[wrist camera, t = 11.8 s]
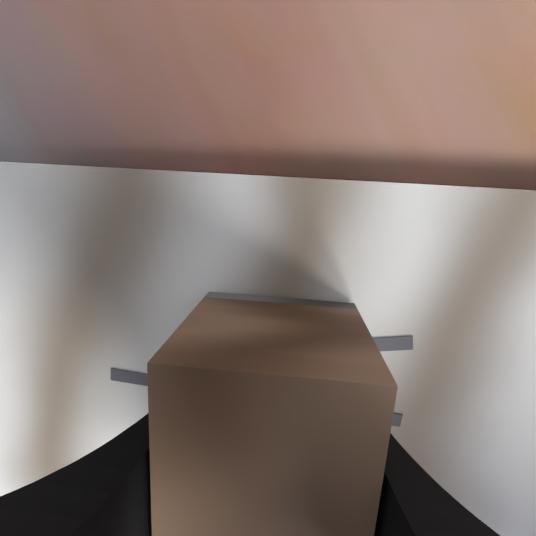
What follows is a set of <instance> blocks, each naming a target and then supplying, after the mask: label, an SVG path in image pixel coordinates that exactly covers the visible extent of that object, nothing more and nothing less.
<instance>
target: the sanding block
mask: <svg viewBox="0 0 536 536" xmlns="http://www.w3.org/2000/svg"><path fill="white" fill-rule="evenodd" d="M147 377H148V413H149V450H150V487H151V524H152V536H374V532H375V526H376V520H377V514H378V508H379V501H380V495H381V489H382V483H383V476H384V470H385V464H386V458H387V452H388V445H389V439H390V433H391V427H392V421H393V414H394V408H395V402H396V396H397V390H398V386H397V384H396V382H395V380H394V378H393V376H392V374H391V372H390V370H389V368H388V367H387V365H386V363H385V361H384V359H383V357H382V355H381V353H380V351H379V349H378V347H377V345H376V344H375V342H374V340H373V338H372V336H371V334H370V332H369V330H368V328H367V326H366V324H365V323H364V321H363V319H362V317H361V315H360V313H359V311H358V309H357V307H356V305H355V303H346V302H333V301H321V300H308V299H295V298H283V297H270V296H257V295H244V294H232V293H219V292H208V293H207V294H206V295H205V297H204V298H203V299H202V300H201V301H200V302H199V304H198V305H197V306H196V307H195V308H194V309H193V310H192V312H191V313H190V314H189V315H188V316H187V317H186V319H185V320H184V321H183V322H182V323H181V324H180V326H179V327H178V328H177V329H176V330H175V331H174V332H173V334H172V335H171V336H170V337H169V338H168V339H167V341H166V342H165V343H164V344H163V345H162V346H161V348H160V349H159V350H158V351H157V352H156V353H155V354H154V356H153V357H152V358H151V359H150V360H149V361H148V363H147Z"/></svg>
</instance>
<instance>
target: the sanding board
mask: <svg viewBox="0 0 536 536" xmlns="http://www.w3.org/2000/svg"><path fill="white" fill-rule="evenodd" d="M208 292H219V293H232V294H244V295H257V296H270V297H283V298H295V299H308V300H321V301H333V302H346V303H355V305H356V307H357V309H358V311H359V313H360V315H361V317H362V319H363V321H364V323H365V324H366V326H367V328H368V330H369V332H370V334H371V336H372V338H373V340H374V342H375V344H376V345H377V347H378V349H379V351H380V353H381V355H382V357H383V359H384V361H385V363H386V365H387V367H388V368H389V370H390V372H391V374H392V376H393V378H394V380H395V382H396V384H397V386H398V390H397V396H396V402H395V408H394V414H393V421H392V427H391V434H392V435H393V437H394V438H395V439H396V440H397V441H398V442H399V443H400V445H401V446H402V447H403V448H404V449H405V450H406V451H407V452H408V454H409V455H410V456H411V457H412V458H413V459H414V460H415V461H416V462H417V463H418V464H419V465H420V466H421V467H422V468H423V469H424V470H425V471H426V472H427V473H428V474H429V475H430V476H431V477H432V478H433V479H434V480H435V481H436V482H437V483H438V484H439V485H440V486H441V487H442V488H443V489H444V490H446V491H447V492H448V493H449V494H450V495H451V496H452V497H454V498H455V499H456V500H457V501H458V502H459V503H460V504H461V505H463V506H464V507H465V508H466V509H467V510H468V511H470V512H471V513H472V514H473V515H475V516H476V517H477V518H478V519H480V520H481V521H482V522H483V523H485V524H486V525H487V526H489V527H490V528H491V529H492V530H494V531H495V532H496V533H498V534H499V535H500V536H536V190H521V189H503V188H484V187H466V186H447V185H428V184H410V183H391V182H373V181H354V180H335V179H317V178H298V177H280V176H261V175H242V174H224V173H205V172H187V171H168V170H149V169H131V168H112V167H94V166H75V165H56V164H38V163H19V162H1V161H0V496H3V495H5V494H7V493H10V492H12V491H15V490H17V489H19V488H21V487H24V486H26V485H28V484H30V483H33V482H35V481H37V480H39V479H41V478H43V477H45V476H47V475H49V474H51V473H53V472H55V471H57V470H59V469H61V468H63V467H65V466H67V465H69V464H71V463H73V462H75V461H77V460H78V459H80V458H82V457H84V456H85V455H87V454H89V453H90V452H92V451H94V450H96V449H97V448H99V447H101V446H102V445H104V444H105V443H107V442H108V441H110V440H112V439H113V438H114V437H116V436H117V435H119V434H120V433H122V432H123V431H124V430H126V429H127V428H129V427H130V426H132V425H133V424H135V423H136V422H137V421H139V420H140V419H141V418H143V417H144V416H145V415H147V414H148V377H147V363H148V361H149V360H150V359H151V358H152V357H153V356H154V354H155V353H156V352H157V351H158V350H159V349H160V348H161V346H162V345H163V344H164V343H165V342H166V341H167V339H168V338H169V337H170V336H171V335H172V334H173V332H174V331H175V330H176V329H177V328H178V327H179V326H180V324H181V323H182V322H183V321H184V320H185V319H186V317H187V316H188V315H189V314H190V313H191V312H192V310H193V309H194V308H195V307H196V306H197V305H198V304H199V302H200V301H201V300H202V299H203V298H204V297H205V295H206V294H207V293H208Z"/></svg>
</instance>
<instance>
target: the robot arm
mask: <svg viewBox="0 0 536 536" xmlns="http://www.w3.org/2000/svg"><path fill="white" fill-rule="evenodd" d="M0 536H152V524H151V487H150V450H149V413H148V414H147V415H145V416H144V417H143V418H141V419H140V420H139V421H137V422H136V423H135V424H133V425H132V426H130V427H129V428H127V429H126V430H124V431H123V432H122V433H120V434H119V435H117V436H116V437H114V438H113V439H112V440H110V441H108V442H107V443H105V444H104V445H102V446H101V447H99V448H97V449H96V450H94V451H92V452H90V453H89V454H87V455H85V456H84V457H82V458H80V459H78V460H77V461H75V462H73V463H71V464H69V465H67V466H65V467H63V468H61V469H59V470H57V471H55V472H53V473H51V474H49V475H47V476H45V477H43V478H41V479H39V480H37V481H35V482H33V483H30V484H28V485H26V486H24V487H21V488H19V489H17V490H15V491H12V492H10V493H7V494H5V495H3V496H0ZM374 536H500V535H499V534H498V533H496V532H495V531H494V530H492V529H491V528H490V527H489V526H487V525H486V524H485V523H483V522H482V521H481V520H480V519H478V518H477V517H476V516H475V515H473V514H472V513H471V512H470V511H468V510H467V509H466V508H465V507H464V506H463V505H461V504H460V503H459V502H458V501H457V500H456V499H455V498H454V497H452V496H451V495H450V494H449V493H448V492H447V491H446V490H444V489H443V488H442V487H441V486H440V485H439V484H438V483H437V482H436V481H435V480H434V479H433V478H432V477H431V476H430V475H429V474H428V473H427V472H426V471H425V470H424V469H423V468H422V467H421V466H420V465H419V464H418V463H417V462H416V461H415V460H414V459H413V458H412V457H411V456H410V455H409V454H408V452H407V451H406V450H405V449H404V448H403V447H402V446H401V445H400V443H399V442H398V441H397V440H396V439H395V438H394V437H393V435H392V434H391V433H390V439H389V445H388V452H387V458H386V464H385V470H384V476H383V483H382V489H381V495H380V501H379V508H378V514H377V520H376V526H375V532H374Z"/></svg>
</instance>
